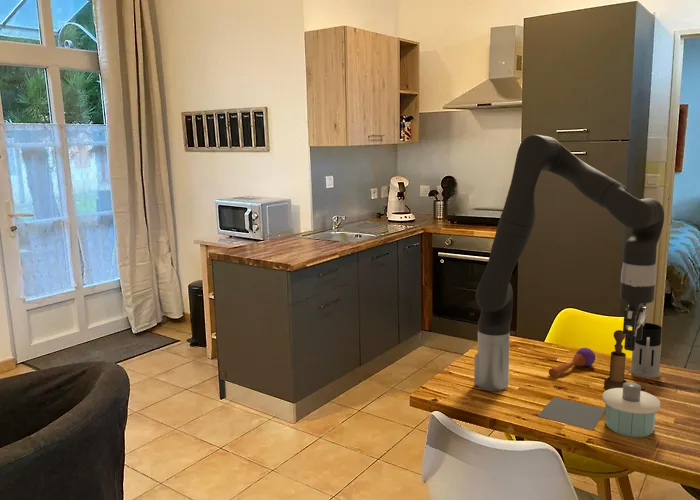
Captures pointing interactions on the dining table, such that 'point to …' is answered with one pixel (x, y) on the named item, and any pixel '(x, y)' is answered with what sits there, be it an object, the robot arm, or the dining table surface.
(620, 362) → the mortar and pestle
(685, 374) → the dining table surface
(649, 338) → the glass holder
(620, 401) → the lid
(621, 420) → the cup
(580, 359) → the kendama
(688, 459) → the dining table surface
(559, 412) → the mat
